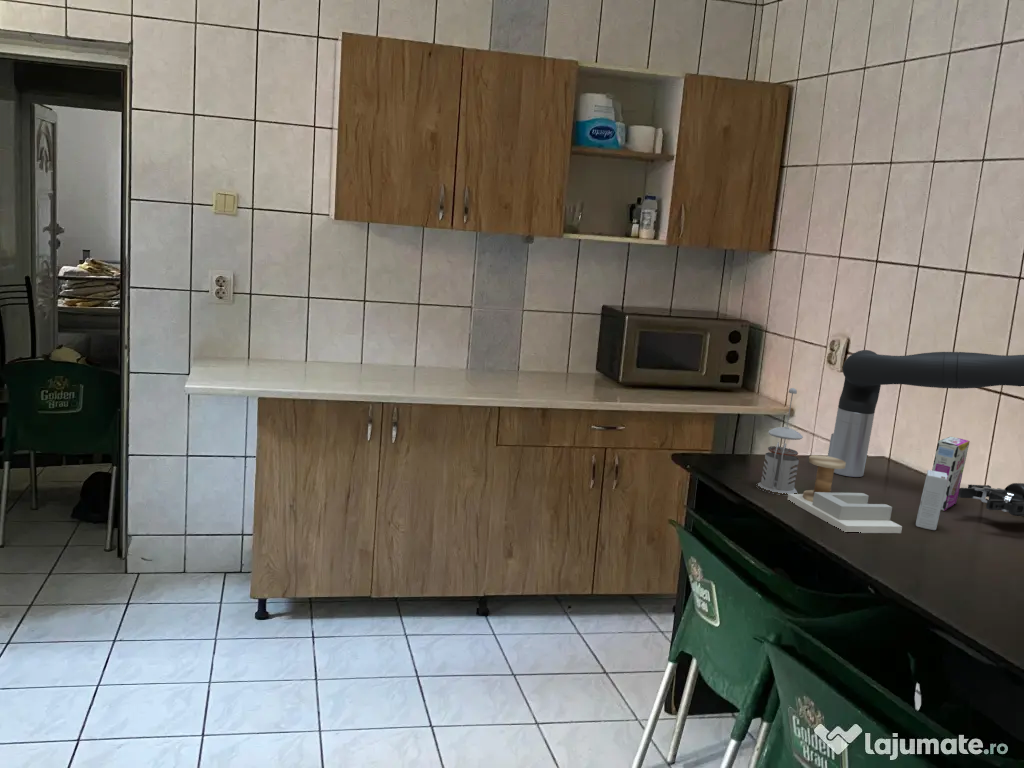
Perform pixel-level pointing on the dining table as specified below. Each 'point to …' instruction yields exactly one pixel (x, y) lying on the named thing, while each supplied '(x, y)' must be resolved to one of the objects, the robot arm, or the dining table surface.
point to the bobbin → (823, 474)
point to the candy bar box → (951, 466)
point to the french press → (781, 461)
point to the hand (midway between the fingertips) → (973, 498)
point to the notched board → (846, 523)
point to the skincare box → (931, 500)
